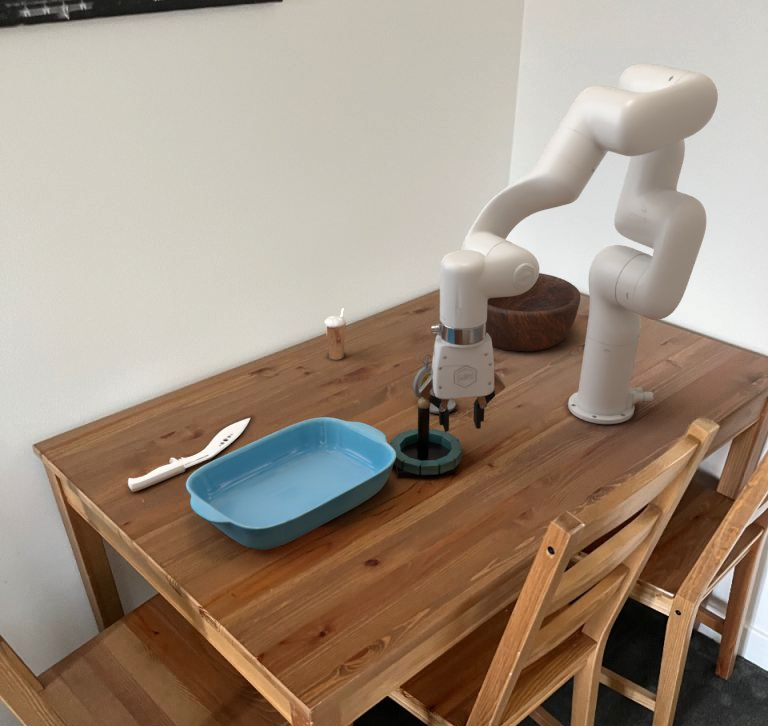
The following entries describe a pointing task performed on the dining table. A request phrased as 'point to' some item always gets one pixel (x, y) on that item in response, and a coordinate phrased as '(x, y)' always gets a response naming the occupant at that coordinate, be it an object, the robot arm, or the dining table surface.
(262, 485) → the casserole dish
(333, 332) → the milkshake
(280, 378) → the dining table surface
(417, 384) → the pocket watch
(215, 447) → the knife
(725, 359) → the dining table surface
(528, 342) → the wooden bowl
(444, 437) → the ring
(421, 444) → the stand
